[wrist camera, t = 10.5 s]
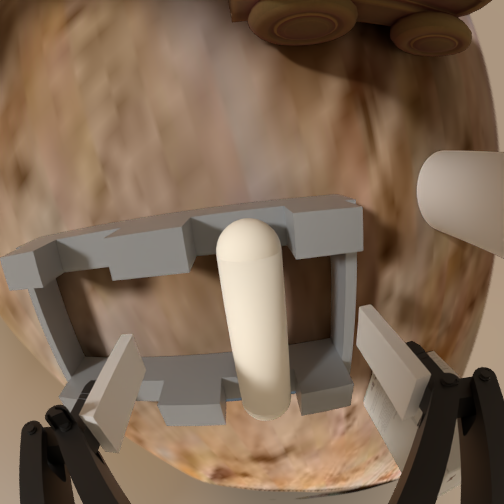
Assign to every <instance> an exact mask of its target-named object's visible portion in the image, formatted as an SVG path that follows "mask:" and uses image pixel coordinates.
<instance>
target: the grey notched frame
mask: <svg viewBox="0 0 504 504" xmlns="http://www.w3.org/2000/svg"><path fill="white" fill-rule="evenodd" d="M244 218H252V219H258V220H260V221H263V222H265V223H266V224H268V225H269V226H270V227H271V228H272V229H273V230H274V231H275V232H276V234H277V235H278V237H279V240H280V243H281V246H286V245H287V246H288V247H289V249H290V250H291V252H292V254H293V255H294V257H295V258H296V260H297V259H305V258H313V257H321V256H328V255H331V336H330V338H327V339H322V340H316V341H310V342H304V343H298V344H291V345H288V348H289V367H290V387H291V394H295V393H296V396H297V400H298V404H299V408H300V412H301V416H303V415H308V414H314V413H319V412H324V411H329V410H333V409H338V408H342V407H346V406H350V405H351V399H352V393H353V386H354V383H353V381H352V379H351V377H350V370H351V360H352V350H353V338H354V325H355V308H356V283H357V252H359V251H363V207H362V206H359V205H356V199H352V198H349V197H346V196H342V195H339V194H335V195H323V196H311V197H300V198H289V199H279V200H270V201H260V202H252V203H243V204H235V205H227V206H219V207H211V208H204V209H196V210H189V211H182V212H176V213H169V214H162V215H156V216H150V217H144V218H138V219H132V220H126V221H120V222H114V223H109V224H103V225H98V226H93V227H87V228H82V229H77V230H72V231H67V232H63V233H58V234H53V235H48V236H44V237H39V238H37V239H35V240H32V241H30V242H28V243H26V244H24V245H22V246H20V247H17V248H16V249H17V250H15V251H13V252H11V253H9V254H7V255H5V256H3V257H1V258H0V260H1V264H2V267H3V271H4V274H5V278H6V281H7V284H8V287H9V290H22V289H28V291H29V294H30V297H31V300H32V303H33V306H34V308H35V311H36V314H37V316H38V319H39V321H40V324H41V326H42V329H43V331H44V334H45V336H46V338H47V341H48V343H49V345H50V347H51V349H52V352H53V354H54V356H55V358H56V360H57V362H58V364H59V366H60V368H61V370H62V372H63V374H64V376H65V378H66V380H67V381H68V383H67V384H66V386H65V387H64V389H63V391H62V392H61V394H60V395H59V398H60V400H61V401H62V403H63V405H64V406H66V407H67V409H68V410H69V412H70V413H71V411H72V409H73V407H74V405H75V403H76V401H77V399H78V397H79V396H80V394H81V392H82V390H83V388H84V386H85V385H86V384H87V383H88V382H89V381H91V380H97V378H98V376H99V374H100V372H101V370H102V369H103V367H104V365H105V363H106V361H107V359H108V358H109V357H85V356H84V354H83V351H82V349H81V347H80V344H79V342H78V340H77V337H76V335H75V332H74V330H73V327H72V325H71V322H70V319H69V317H68V314H67V311H66V308H65V305H64V302H63V300H62V297H61V293H60V290H59V287H58V284H57V281H56V278H57V277H58V276H60V275H61V274H62V273H64V272H72V271H80V270H88V269H96V268H104V267H109V269H110V272H111V276H112V280H113V281H115V280H124V279H134V278H143V277H152V276H161V275H171V274H179V273H188V272H190V270H191V268H192V266H193V263H194V261H195V259H196V256H202V255H211V254H216V247H217V242H218V239H219V236H220V235H221V233H222V232H223V230H224V229H225V228H226V227H227V226H228V225H230V224H231V223H233V222H235V221H237V220H240V219H244ZM141 358H142V361H143V363H144V366H145V368H146V372H145V375H144V378H143V381H142V383H141V386H140V389H139V392H138V395H137V398H136V401H158V405H157V406H158V408H159V410H160V412H161V414H162V416H163V419H164V421H165V423H166V425H167V426H208V425H226V402H227V401H239V400H242V398H241V393H240V388H239V383H238V378H237V373H236V368H235V362H234V357H233V352H225V353H214V354H201V355H186V356H166V357H141Z"/></svg>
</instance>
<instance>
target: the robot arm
mask: <svg viewBox="0 0 504 504" xmlns="http://www.w3.org/2000/svg"><path fill="white" fill-rule="evenodd" d="M356 345H357V347H358V349H359V350H360V352H361V353H362V355H363V357H364V358H365V360H366V361H367V363H368V365H369V366H370V368H371V369H372V371H373V373H374V374H375V376H376V377H377V379H378V381H379V382H380V384H381V386H382V387H383V389H384V391H385V392H386V394H387V396H388V397H389V399H390V401H391V402H392V404H393V406H394V407H395V409H396V411H397V412H398V414H399V416H400V417H401V419H402V421H403V420H405V419H408V418H410V417H413V416H415V415H416V414H417V411H418V409H419V408H420V409H421V411H422V412H423V413H422V415H421V418H420V420H419V422H418V424H417V426H418V428H417V432H416V435H415V438H414V441H413V444H412V447H411V450H410V453H409V456H408V458H407V461H406V464H405V466H404V469H403V471H402V474H401V476H400V479H399V481H398V483H397V486H396V488H395V490H394V493H393V495H392V497H391V499H390V501H389V503H388V504H435V503H436V500H437V497H438V494H439V491H440V488H441V485H442V481H443V478H444V474H445V471H446V467H447V463H448V459H449V455H450V451H451V446H452V441H453V436H454V431H455V425H456V419H457V423H458V433H459V444H460V460H461V504H504V399H503V396H502V393H501V390H500V387H499V383H498V380H497V377H496V375H495V373H494V372H493V371H492V370H491V369H489V368H484V367H481V368H478V369H477V370H475V372H474V374H473V376H472V377H467V378H459V377H458V376H456V375H455V374H452V373H444V372H443V371H442V370H441V368H440V367H439V366H438V365H437V364H436V363H435V362H434V360H433V359H432V358H431V357H429V355H428V354H427V353H425V350H424V349H423V348H422V347H421V346H420V345H418V344H417V343H415V342H413V341H411V342H407V343H405V342H404V341H403V340H402V339H401V338H400V337H399V335H398V334H397V333H396V332H395V331H394V330H393V328H392V327H391V326H390V325H389V324H388V323H387V322H386V321H385V319H384V318H383V317H382V316H381V315H380V314H379V313H378V312H377V310H376V309H375V308H374V307H373V306H372V305H371V304H370V305H365V306H360V307H359V317H358V330H357V341H356ZM145 372H146V368H145V366H144V363H143V361H142V358H141V355H140V353H139V350H138V347H137V344H136V342H135V339H134V336H133V334H121V336H120V338H119V340H118V341H117V343H116V345H115V347H114V349H113V350H112V352H111V354H110V356H109V358H108V359H107V361H106V363H105V365H104V367H103V369H102V370H101V372H100V374H99V376H98V378H97V380H91V381H89V382H88V383H87V384H86V385H85V386H84V388H83V390H82V392H81V394H80V396H79V397H78V399H77V401H76V403H75V405H74V407H73V409H72V411H71V413H70V412H69V410H68V409H67V407H66V406H64V405H56V406H53V407H51V408H50V409H49V410H48V411H47V413H46V415H45V419H46V421H47V422H48V423H49V425H50V426H51V427H44V428H43V427H42V425H41V424H40V423H39V422H38V421H30V422H28V423H27V424H25V425H24V427H23V428H22V432H21V445H20V468H19V471H20V473H19V478H20V479H19V481H20V482H19V484H20V504H75V502H74V497H73V491H72V485H71V478H72V481H73V483H74V485H75V487H76V489H77V492H78V494H79V496H80V498H81V500H82V502H83V504H131V503H130V501H129V500H128V498H127V497H126V496H125V494H124V493H123V491H122V489H121V488H120V486H119V485H118V483H117V481H116V480H115V478H114V476H113V475H112V473H111V471H110V470H109V468H108V466H107V464H106V463H105V461H104V459H103V457H102V455H101V454H100V452H99V451H98V449H99V446H100V445H101V447H102V448H103V449H104V450H105V451H106V452H113V453H119V451H120V447H121V444H122V441H123V438H124V435H125V432H126V428H127V425H128V422H129V419H130V416H131V413H132V410H133V407H134V404H135V401H136V398H137V395H138V392H139V389H140V386H141V383H142V381H143V378H144V375H145ZM70 476H71V478H70Z"/></svg>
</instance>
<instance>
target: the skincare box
mask: <svg viewBox="0 0 504 504" xmlns="http://www.w3.org/2000/svg"><path fill="white" fill-rule="evenodd" d="M427 354H428V355H429V357H431V358H432V359H433V360H434V362H435V363H436V364H437V365H438V366H439V367H440V368H441V370H442V371H443V372H444V373H452V374H455V375H456V376H458V377H459V378H461V377H460V376H459V375H458V374H457V373H456V372H455V371H454V370H453V369H452V368H451V367H450V366H449V365H448V364H447V363H446V362H445V361H444V360H442V359H441V358H440V357H439V356H438V355H437V354H436V353H435V352H434V351H431V352H427ZM363 402H364V406H365V408H366V410H367V412H368V413H369V415H370V417H371V419H372V421H373V422H374V424H375V426H376V428H377V429H378V431H379V433H380V435H381V436H382V438H383V440H384V442H385V444H386V445H387V447H388V449H389V451H390V452H391V454H392V456H393V458H394V460H395V462H396V463H397V465H398V467H399V469H400V471H401V472H402V471H403V469H404V466H405V464H406V461H407V458H408V456H409V453H410V450H411V447H412V444H413V441H414V438H415V435H416V432H417V428H418V426H417V424H418V422H419V420H420V418H421V415H422V413H423V412H422V411H421V409H420V408H419V409H418V411H417V414H416V415H415V416H413V417H410V418H408V419H405V420H403V421H402V419H401V417H400V416H399V414H398V412H397V411H396V409H395V407H394V406H393V404H392V402H391V401H390V399H389V397H388V396H387V394H386V392H385V391H384V389H383V387H382V386H381V384H380V382H379V381H378V379H377V377H376V376H375V374H374V373H373V372H372V376H371V379H370V383H369V386H368V388H367V391H366V395H365V398H364V401H363ZM460 484H461V460H460V444H459V433H458V423H457V419H456V425H455V431H454V436H453V441H452V446H451V451H450V455H449V459H448V463H447V467H446V471H445V474H444V478H443V481H442V485H441V488H440V491H439V494H438V497H440V496H441V495H443V494H445V493H447V492H448V491H450V490H452V489H453V488H455V487H457V486H459V485H460ZM438 497H437V498H438Z"/></svg>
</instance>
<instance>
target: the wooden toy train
mask: <svg viewBox="0 0 504 504" xmlns="http://www.w3.org/2000/svg"><path fill="white" fill-rule="evenodd" d="M491 1H492V0H228V2H229V7H230V13H231V18H232V22H239V21H248V24H249V28H250V29H251V30H252V31H253V32H254V34H256V35H257V36H258V37H259V38H261V39H263V40H265V41H268V42H270V43H273V44H279V45H289V46H300V45H312V44H318V43H323V42H327V41H331V40H334V39H337V38H339V37H341V36H343V35H345V34H346V33H347V32H349V31H350V30H351V29H352V28H353V27H354V25H355V23H356V21H357V22H366V23H373V24H380V25H386V26H391V30H390V39H391V40H392V41H393V42H394V44H395V45H396V46H397V47H398V48H399V49H401V50H403V51H405V52H407V53H410V54H413V55H419V56H446V55H453V54H456V53H460V52H462V51H464V50H466V49H467V47H468V46H469V45H470V44H471V39H472V32H471V31H470V29H469V28H468V26H467V25H466V24H465V23H464V22H463V21H462V20H460V19H459V18H458V17H461V16H465V15H468V14H471V13H472V12H475V11H477V10H479V9H481V8H482V7H484V6H485V5H487V4H488V3H489V2H491Z"/></svg>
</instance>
